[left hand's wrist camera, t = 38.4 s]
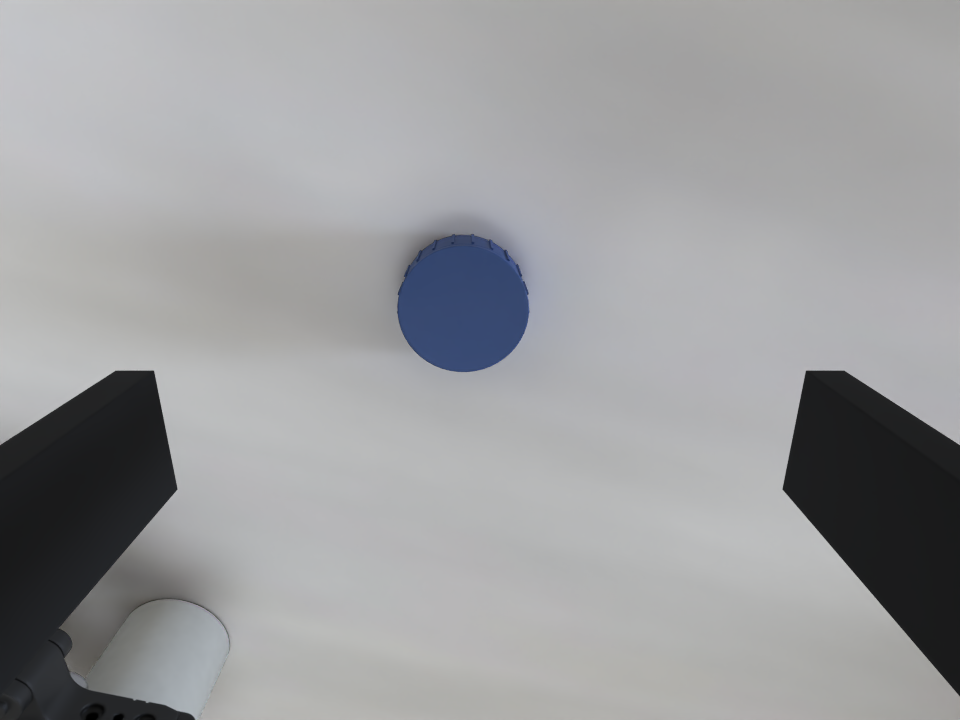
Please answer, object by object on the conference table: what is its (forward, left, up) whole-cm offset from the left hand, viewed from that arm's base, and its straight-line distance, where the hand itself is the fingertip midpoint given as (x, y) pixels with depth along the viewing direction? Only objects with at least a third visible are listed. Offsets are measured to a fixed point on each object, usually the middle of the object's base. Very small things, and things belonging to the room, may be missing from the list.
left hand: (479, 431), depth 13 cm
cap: (0, 0, -8) cm, 8 cm away
